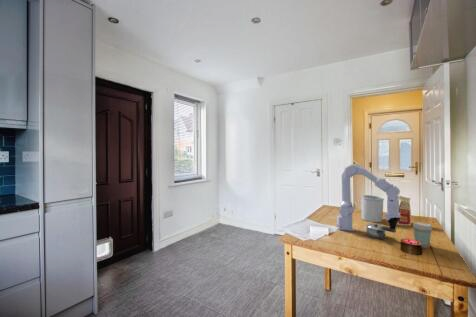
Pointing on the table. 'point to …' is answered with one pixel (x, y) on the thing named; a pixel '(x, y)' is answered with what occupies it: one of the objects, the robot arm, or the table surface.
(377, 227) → the lid
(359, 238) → the table surface
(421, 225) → the coffee cup
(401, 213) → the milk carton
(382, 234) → the pot
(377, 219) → the utensil holder
